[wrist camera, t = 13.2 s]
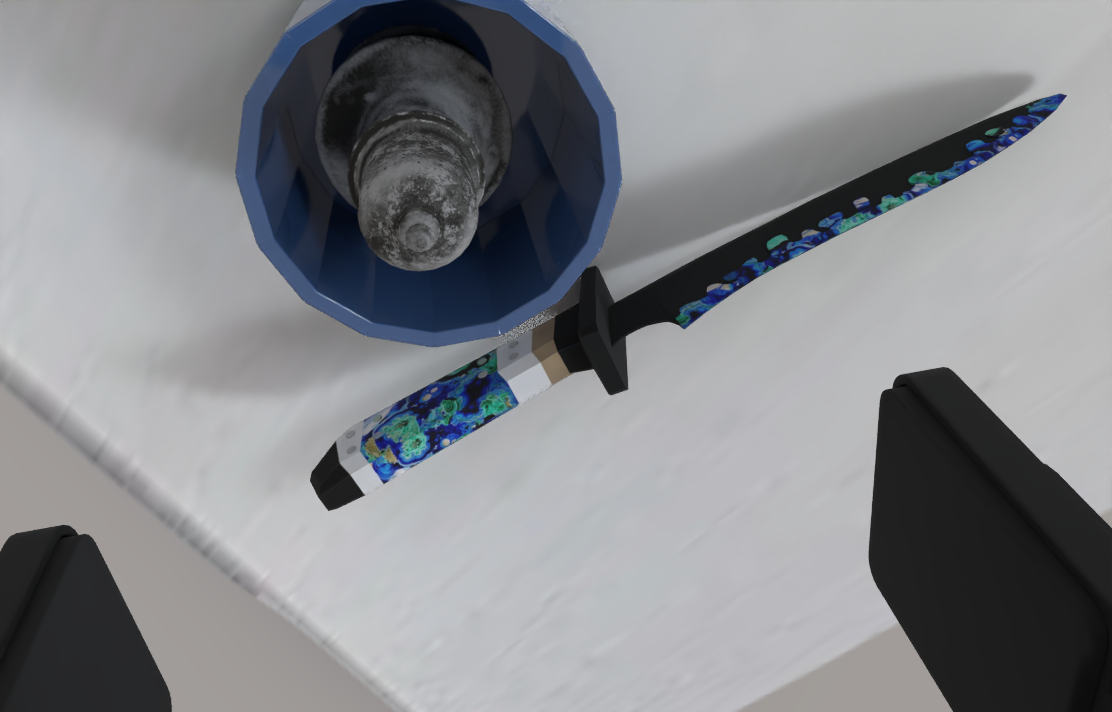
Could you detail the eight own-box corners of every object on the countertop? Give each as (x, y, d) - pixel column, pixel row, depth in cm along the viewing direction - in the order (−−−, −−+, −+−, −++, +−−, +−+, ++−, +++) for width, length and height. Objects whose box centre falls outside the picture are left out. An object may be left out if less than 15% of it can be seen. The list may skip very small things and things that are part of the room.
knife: (323, 460, 36) (327, 531, 33) (286, 401, 35) (285, 467, 31) (1020, 142, 38) (1103, 173, 34) (1014, 71, 36) (1100, 95, 32)
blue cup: (235, -31, 29) (183, 13, 22) (553, -80, 29) (599, -53, 23) (318, 263, 34) (296, 373, 27) (588, 215, 34) (635, 311, 28)
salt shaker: (520, 168, 33) (575, 324, 22) (357, 210, 32) (335, 387, 22) (477, -6, 30) (517, 80, 19) (297, 40, 30) (239, 152, 19)
